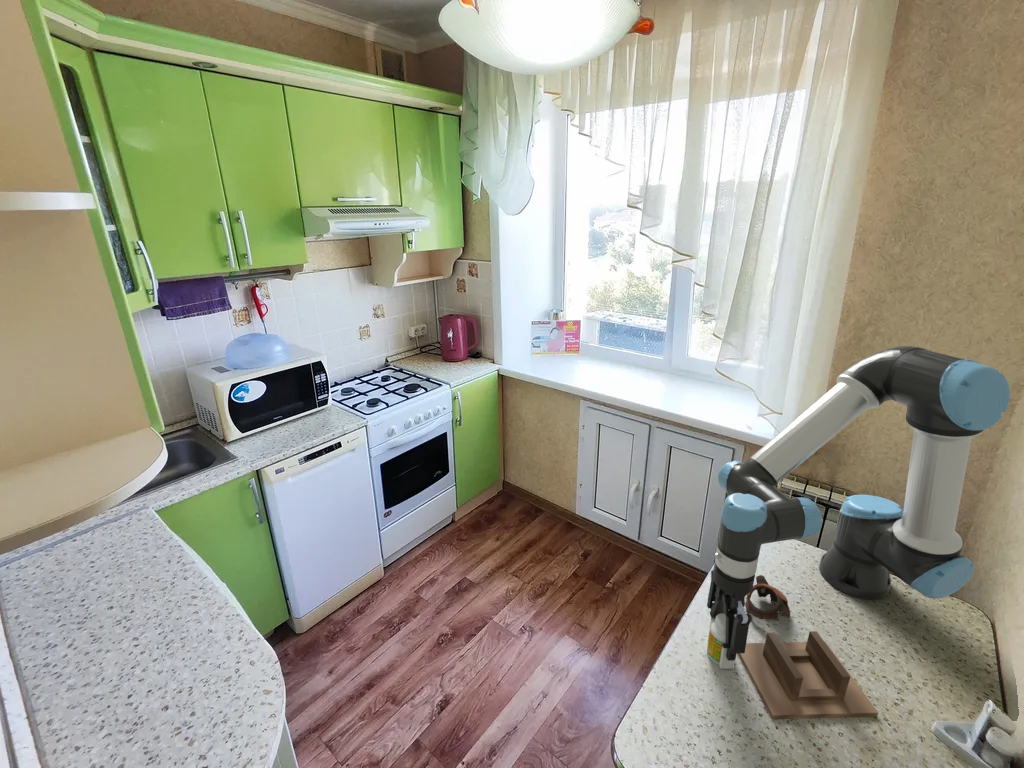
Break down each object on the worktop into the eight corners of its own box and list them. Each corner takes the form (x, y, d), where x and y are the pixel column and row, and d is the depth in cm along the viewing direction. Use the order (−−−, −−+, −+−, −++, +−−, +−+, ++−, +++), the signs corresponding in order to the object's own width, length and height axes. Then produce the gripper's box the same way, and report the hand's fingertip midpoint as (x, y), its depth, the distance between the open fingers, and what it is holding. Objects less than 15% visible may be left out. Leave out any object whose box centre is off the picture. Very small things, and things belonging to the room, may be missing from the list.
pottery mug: (800, 629, 111) (792, 611, 107) (757, 637, 114) (749, 620, 110) (778, 582, 121) (771, 563, 117) (740, 591, 123) (731, 573, 120)
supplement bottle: (708, 663, 102) (714, 628, 99) (705, 642, 107) (710, 608, 104) (735, 668, 101) (742, 633, 98) (730, 647, 106) (737, 612, 102)
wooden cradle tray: (824, 644, 106) (830, 620, 103) (877, 716, 91) (886, 689, 88) (734, 647, 106) (738, 622, 103) (772, 719, 91) (778, 692, 88)
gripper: (698, 538, 105) (687, 620, 112) (736, 602, 87) (720, 695, 95) (732, 537, 105) (719, 620, 112) (777, 601, 87) (758, 694, 95)
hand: (720, 654), depth 104 cm, fingers closed on supplement bottle, 5 cm apart
